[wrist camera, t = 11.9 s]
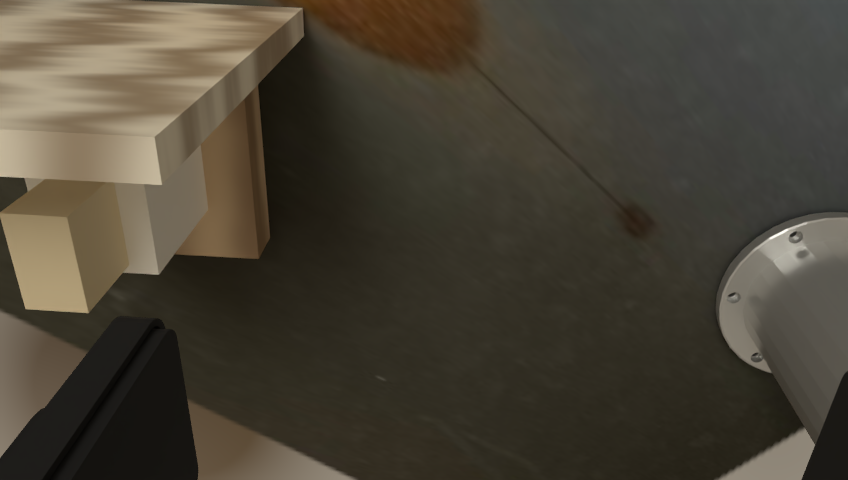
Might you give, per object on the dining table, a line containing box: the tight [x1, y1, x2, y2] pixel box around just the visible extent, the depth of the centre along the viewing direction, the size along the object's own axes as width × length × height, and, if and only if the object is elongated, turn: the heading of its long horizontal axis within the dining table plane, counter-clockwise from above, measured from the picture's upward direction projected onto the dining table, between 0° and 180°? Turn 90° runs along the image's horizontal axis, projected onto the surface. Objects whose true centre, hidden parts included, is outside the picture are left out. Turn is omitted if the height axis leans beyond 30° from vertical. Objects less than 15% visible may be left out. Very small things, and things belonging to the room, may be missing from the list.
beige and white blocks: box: [0, 145, 208, 313], centre depth 36 cm, size 6×10×12 cm, turn 178°
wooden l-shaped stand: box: [0, 0, 304, 259], centre depth 35 cm, size 18×15×22 cm
